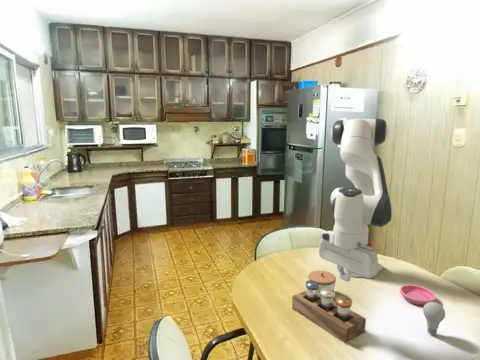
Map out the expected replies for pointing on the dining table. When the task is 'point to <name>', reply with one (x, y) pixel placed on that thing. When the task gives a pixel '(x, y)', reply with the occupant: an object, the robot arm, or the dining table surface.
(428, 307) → the lightbulb
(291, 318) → the dining table surface
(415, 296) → the saucer
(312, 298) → the grey-lidded spice jar
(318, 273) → the lidded jar
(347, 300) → the copper-lid spice jar
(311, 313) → the socket board
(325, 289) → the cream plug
